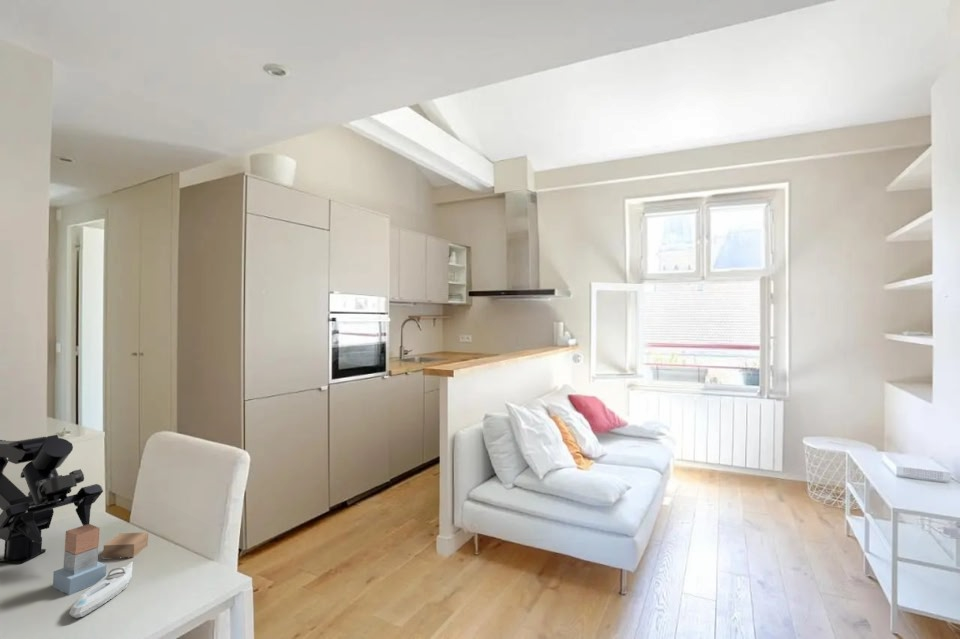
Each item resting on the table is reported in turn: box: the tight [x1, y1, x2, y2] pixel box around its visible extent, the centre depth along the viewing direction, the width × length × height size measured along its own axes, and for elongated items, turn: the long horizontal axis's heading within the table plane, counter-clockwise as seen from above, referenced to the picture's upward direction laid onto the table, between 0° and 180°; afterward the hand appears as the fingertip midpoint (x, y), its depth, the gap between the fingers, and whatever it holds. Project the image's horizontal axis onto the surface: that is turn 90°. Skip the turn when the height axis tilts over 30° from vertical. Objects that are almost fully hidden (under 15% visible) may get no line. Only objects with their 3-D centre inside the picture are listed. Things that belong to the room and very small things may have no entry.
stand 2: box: [102, 531, 149, 559], centre depth 121 cm, size 7×7×4 cm
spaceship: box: [68, 561, 134, 619], centre depth 104 cm, size 23×7×4 cm, turn 13°
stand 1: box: [52, 560, 107, 596], centre depth 106 cm, size 7×7×4 cm
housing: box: [62, 523, 100, 575], centre depth 106 cm, size 4×4×9 cm
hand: (64, 534), depth 109 cm, fingers open, 9 cm apart
